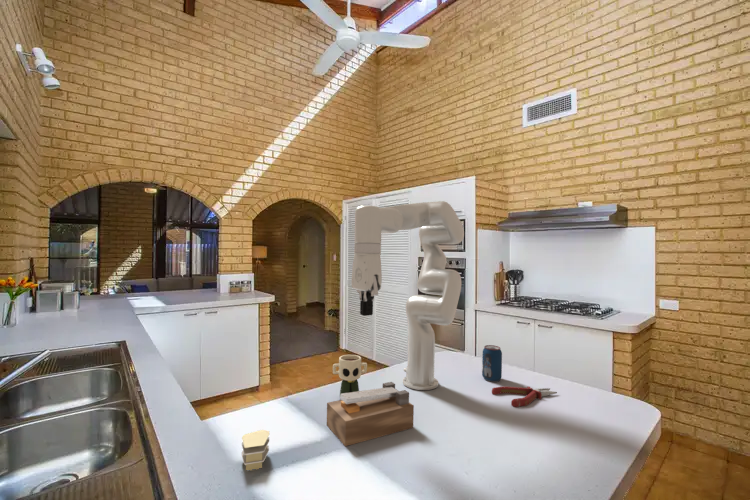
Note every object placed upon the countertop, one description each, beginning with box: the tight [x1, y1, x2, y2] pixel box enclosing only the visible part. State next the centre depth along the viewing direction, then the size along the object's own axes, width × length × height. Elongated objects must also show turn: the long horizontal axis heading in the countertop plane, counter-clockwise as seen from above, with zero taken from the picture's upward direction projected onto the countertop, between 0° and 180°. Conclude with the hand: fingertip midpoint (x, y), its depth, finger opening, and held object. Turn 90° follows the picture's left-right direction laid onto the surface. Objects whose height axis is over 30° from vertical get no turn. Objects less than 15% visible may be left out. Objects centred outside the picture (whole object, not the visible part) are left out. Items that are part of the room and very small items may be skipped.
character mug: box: [332, 354, 368, 395], centre depth 116 cm, size 11×7×13 cm, turn 100°
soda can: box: [481, 344, 503, 383], centre depth 136 cm, size 7×7×12 cm
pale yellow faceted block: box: [241, 429, 270, 471], centre depth 81 cm, size 10×9×6 cm
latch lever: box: [339, 386, 399, 404], centre depth 98 cm, size 5×17×1 cm, turn 120°
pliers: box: [491, 386, 558, 408], centre depth 120 cm, size 12×21×3 cm, turn 108°
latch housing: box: [326, 381, 415, 447], centre depth 98 cm, size 12×20×9 cm, turn 119°
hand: (366, 314), depth 102 cm, fingers closed
